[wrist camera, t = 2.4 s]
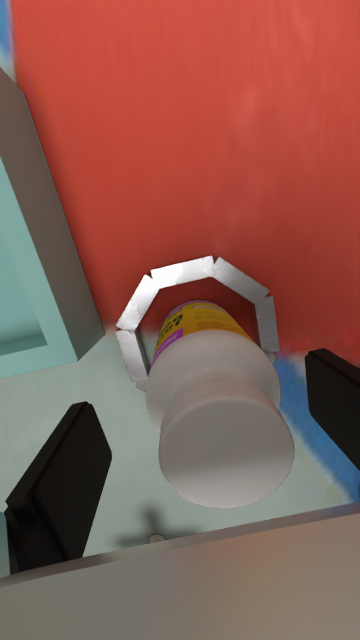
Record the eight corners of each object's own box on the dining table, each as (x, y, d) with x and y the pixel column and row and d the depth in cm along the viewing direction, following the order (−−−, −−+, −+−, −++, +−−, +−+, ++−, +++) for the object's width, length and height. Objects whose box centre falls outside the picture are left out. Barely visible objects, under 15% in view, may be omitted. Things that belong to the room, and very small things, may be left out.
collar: (259, 244, 18) (266, 242, 16) (277, 383, 21) (285, 392, 20) (105, 280, 19) (99, 282, 17) (146, 410, 22) (144, 421, 20)
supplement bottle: (176, 287, 19) (171, 336, 6) (246, 314, 19) (366, 408, 7) (150, 355, 20) (105, 501, 8) (215, 378, 21) (269, 547, 9)
